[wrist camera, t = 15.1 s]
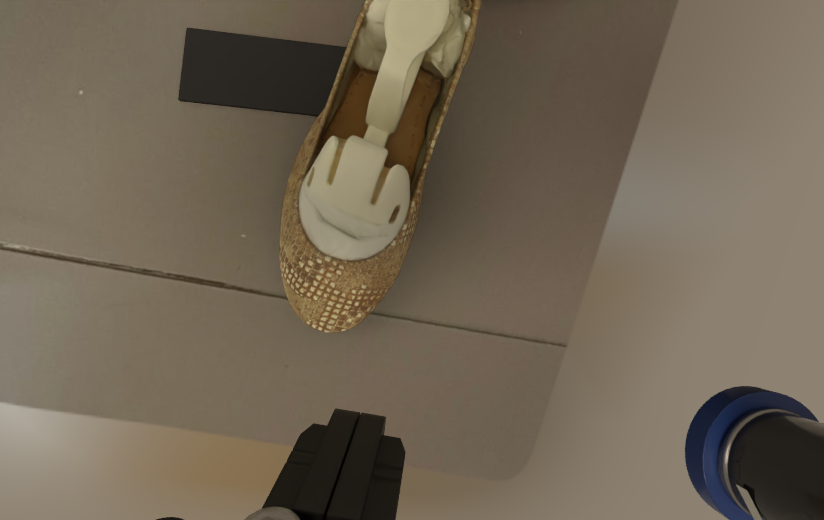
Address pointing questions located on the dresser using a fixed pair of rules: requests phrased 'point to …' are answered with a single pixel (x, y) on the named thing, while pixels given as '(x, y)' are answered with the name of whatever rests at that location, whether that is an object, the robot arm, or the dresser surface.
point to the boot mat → (258, 72)
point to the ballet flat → (370, 158)
